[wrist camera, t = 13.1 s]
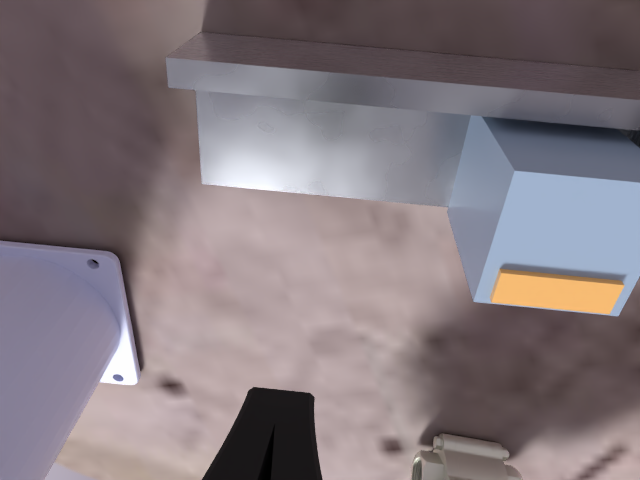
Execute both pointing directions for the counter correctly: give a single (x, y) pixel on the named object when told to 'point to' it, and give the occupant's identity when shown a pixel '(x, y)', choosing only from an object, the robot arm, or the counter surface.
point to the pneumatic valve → (463, 460)
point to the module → (548, 215)
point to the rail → (372, 112)
